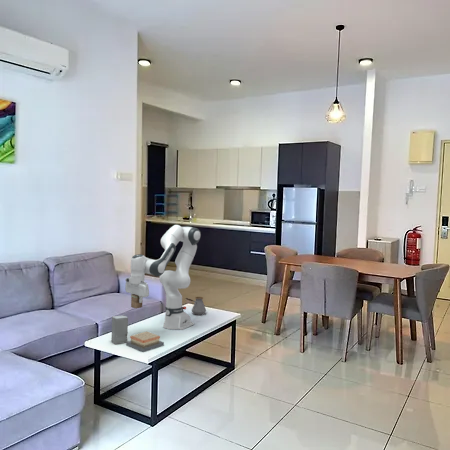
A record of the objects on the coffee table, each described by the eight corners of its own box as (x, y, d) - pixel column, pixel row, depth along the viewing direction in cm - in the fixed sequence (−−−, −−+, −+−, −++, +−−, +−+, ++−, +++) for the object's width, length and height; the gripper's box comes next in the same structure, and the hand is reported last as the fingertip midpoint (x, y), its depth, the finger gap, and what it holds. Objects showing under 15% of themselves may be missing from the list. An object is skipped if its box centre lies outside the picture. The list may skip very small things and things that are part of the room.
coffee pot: (198, 311, 335) (198, 292, 334) (209, 313, 328) (209, 295, 327) (179, 316, 319) (179, 296, 318) (190, 319, 311) (190, 299, 311)
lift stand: (147, 339, 264) (147, 329, 263) (163, 345, 253) (164, 335, 253) (126, 345, 252) (126, 335, 251) (142, 352, 241) (143, 342, 241)
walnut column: (137, 305, 269) (137, 293, 269) (142, 307, 266) (142, 294, 266) (130, 307, 265) (131, 294, 265) (135, 308, 262) (136, 296, 262)
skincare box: (115, 344, 252) (115, 319, 251) (110, 341, 258) (111, 316, 257) (128, 342, 257) (128, 317, 256) (123, 339, 263) (124, 314, 262)
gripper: (151, 282, 260) (151, 303, 261) (131, 277, 274) (131, 298, 275) (143, 283, 256) (143, 305, 256) (123, 278, 269) (123, 299, 270)
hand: (136, 301), depth 266 cm, fingers closed on walnut column, 5 cm apart
